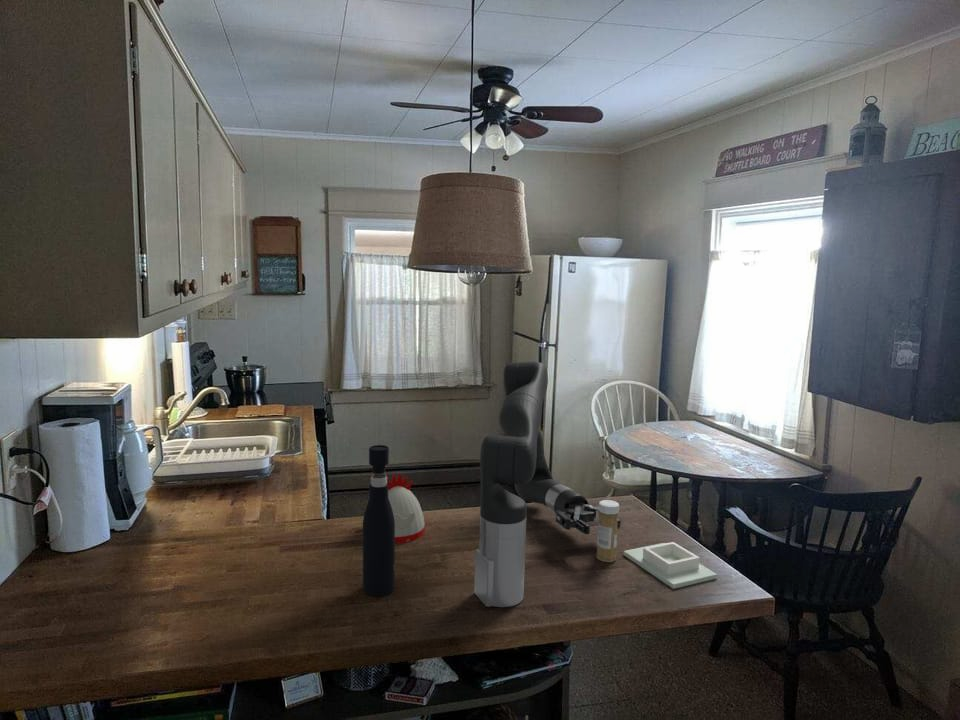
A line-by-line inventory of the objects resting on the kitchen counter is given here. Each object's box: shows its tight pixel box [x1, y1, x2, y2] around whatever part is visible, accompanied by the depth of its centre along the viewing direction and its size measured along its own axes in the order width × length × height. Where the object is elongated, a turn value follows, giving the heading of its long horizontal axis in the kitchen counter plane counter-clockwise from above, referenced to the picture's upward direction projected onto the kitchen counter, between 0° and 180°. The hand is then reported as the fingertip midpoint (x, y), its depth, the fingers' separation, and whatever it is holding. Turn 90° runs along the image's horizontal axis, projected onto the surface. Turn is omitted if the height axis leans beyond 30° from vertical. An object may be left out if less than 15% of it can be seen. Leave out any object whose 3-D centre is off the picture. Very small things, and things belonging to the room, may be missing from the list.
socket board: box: [623, 541, 718, 590], centre depth 147 cm, size 12×17×4 cm
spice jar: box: [595, 499, 620, 563], centre depth 150 cm, size 5×5×14 cm
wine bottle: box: [362, 444, 396, 597], centre depth 132 cm, size 6×6×30 cm
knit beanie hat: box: [385, 472, 425, 544], centre depth 162 cm, size 14×14×15 cm
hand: (604, 527), depth 151 cm, fingers open, 8 cm apart
